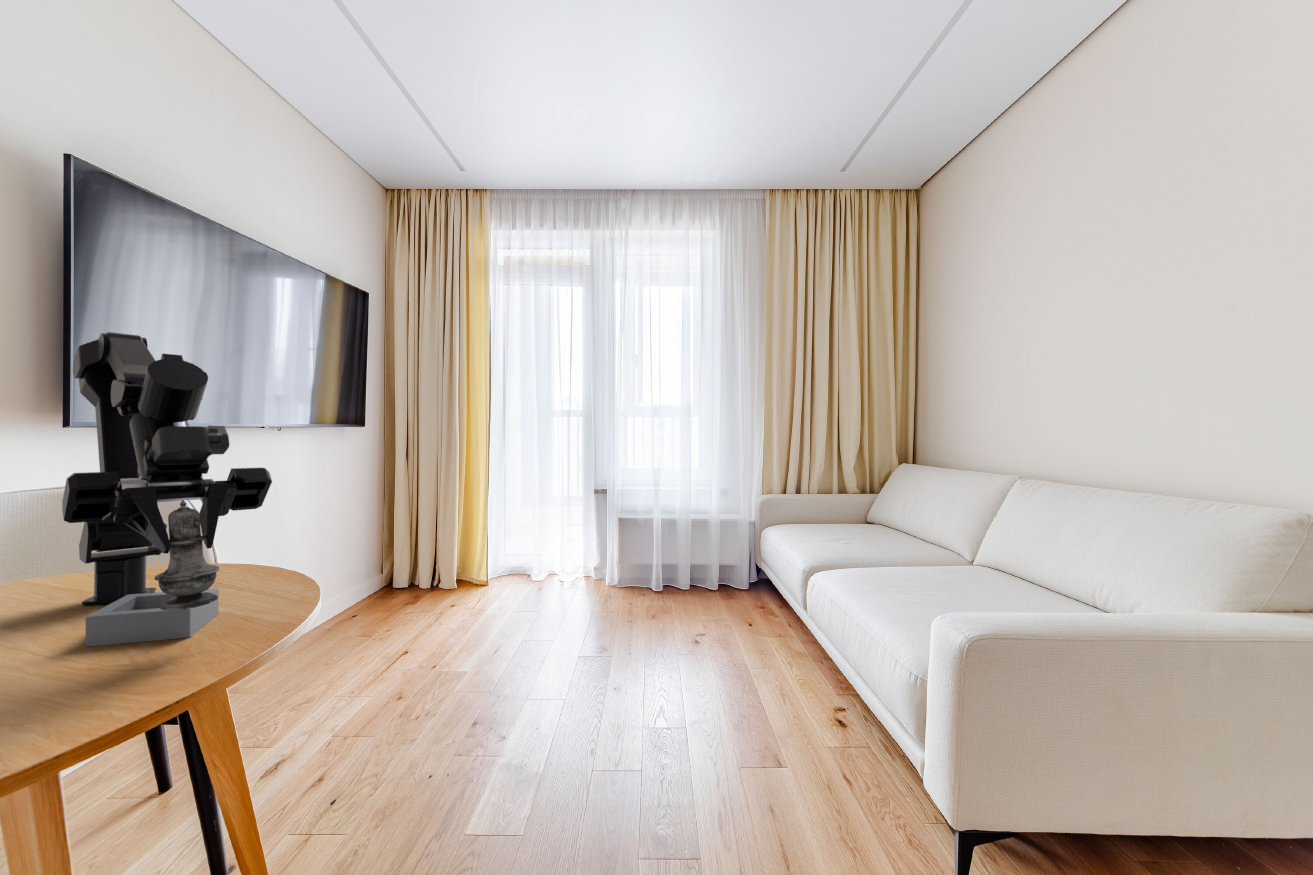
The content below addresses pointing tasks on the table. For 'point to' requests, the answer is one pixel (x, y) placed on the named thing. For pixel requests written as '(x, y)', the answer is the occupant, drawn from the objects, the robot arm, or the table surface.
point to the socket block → (145, 620)
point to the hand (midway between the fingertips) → (189, 548)
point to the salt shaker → (186, 563)
